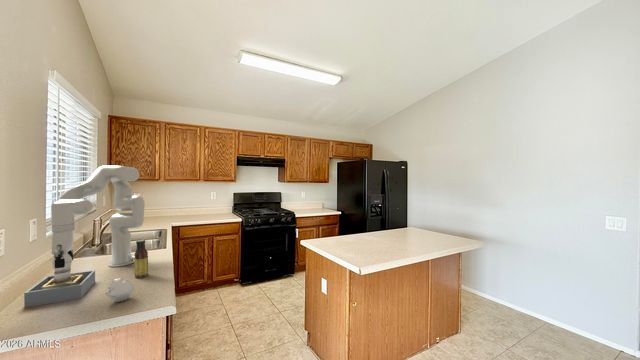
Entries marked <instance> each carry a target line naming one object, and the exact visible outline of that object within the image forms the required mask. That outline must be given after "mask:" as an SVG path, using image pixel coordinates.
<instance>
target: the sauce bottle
mask: <svg viewBox="0 0 640 360" xmlns="http://www.w3.org/2000/svg"><path fill="white" fill-rule="evenodd" d="M135 241H136V242H135V244H136V248H135V249H136V250H135V252H134V255H133V256H134V262H133V263H134V265H133V268H134V269H133V270H134V272H133V274H134V277H135V278H136V279H141V278H142V279H143V278H145V277H147V276H149V256H148V254H149V252H148V250H147V249H146V239H138V240H135Z"/></svg>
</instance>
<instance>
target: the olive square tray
mask: <svg viewBox="0 0 640 360" xmlns="http://www.w3.org/2000/svg"><path fill="white" fill-rule="evenodd" d="M71 280H72V282H70V283H63V284H56V285H53V283H54V278H53V279H51V280H50V281H49V282H47V283H46V284H45V285H44V286H42V287H41V290H44V289H51V288H58V287H65V286H72V285H79V284H81V282H82V281H83V274H82V275H75V276H71Z"/></svg>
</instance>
